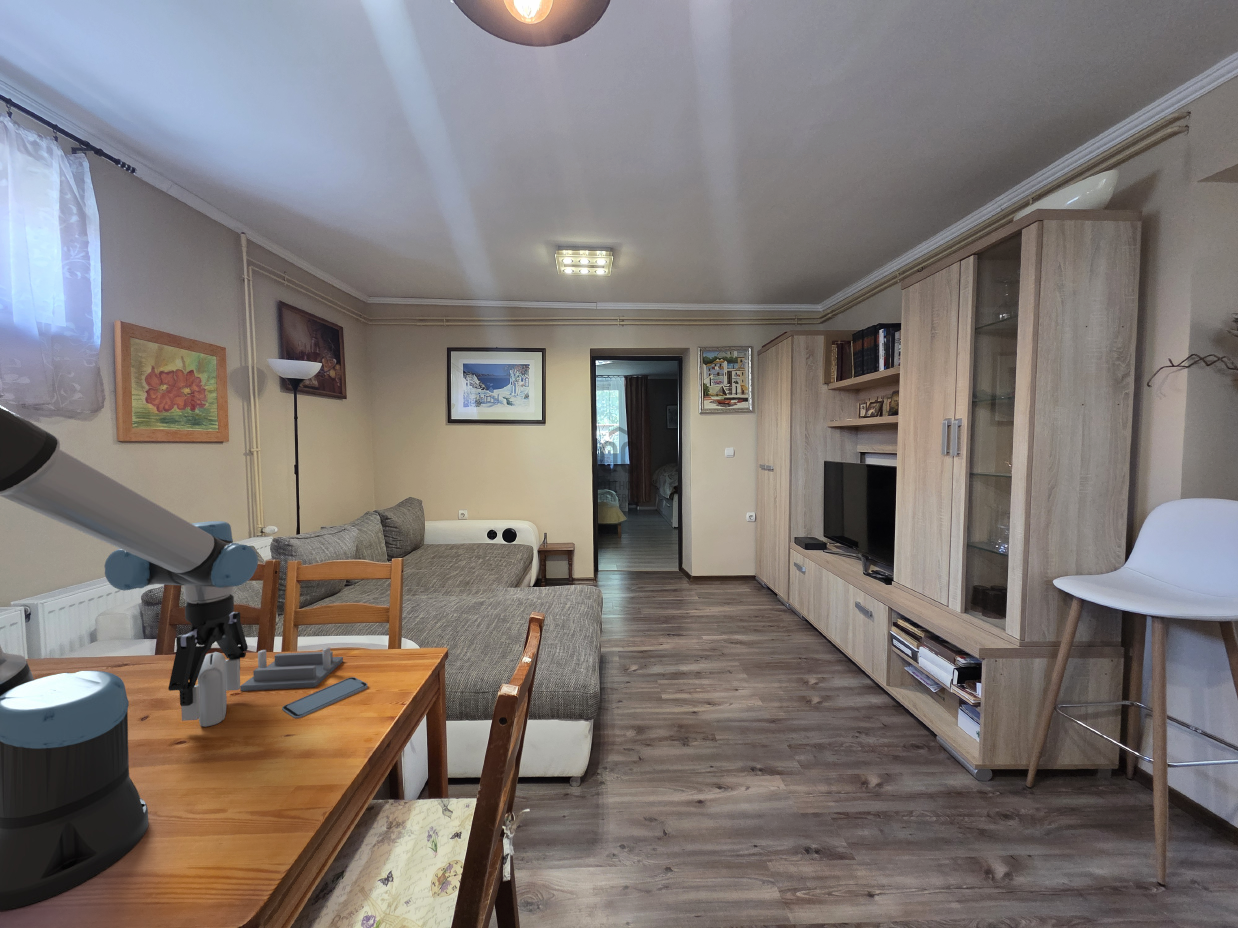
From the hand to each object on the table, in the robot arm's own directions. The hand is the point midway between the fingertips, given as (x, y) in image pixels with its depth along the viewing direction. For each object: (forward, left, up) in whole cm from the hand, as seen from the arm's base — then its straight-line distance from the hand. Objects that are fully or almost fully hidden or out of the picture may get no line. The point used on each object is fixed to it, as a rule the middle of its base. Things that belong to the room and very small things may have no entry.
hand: (212, 703), depth 96 cm
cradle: (+16, -7, -2) cm, 18 cm away
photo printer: (0, 0, -3) cm, 3 cm away
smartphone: (+5, -20, -3) cm, 21 cm away
